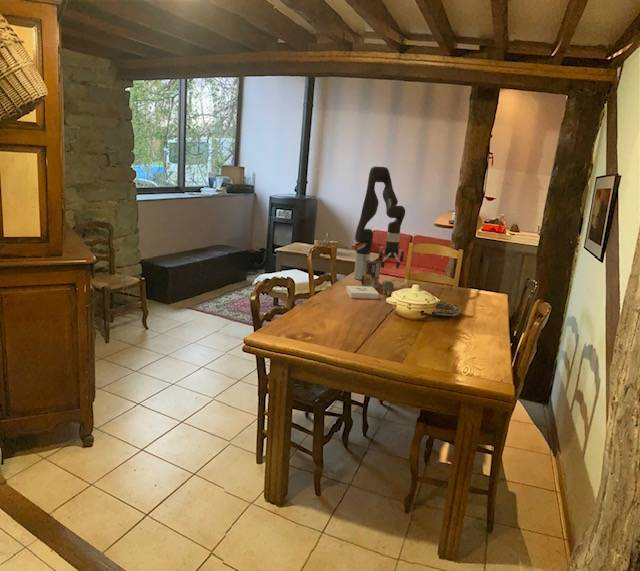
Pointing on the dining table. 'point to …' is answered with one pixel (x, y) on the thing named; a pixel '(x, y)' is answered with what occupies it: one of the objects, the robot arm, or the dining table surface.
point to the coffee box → (370, 274)
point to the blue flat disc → (446, 310)
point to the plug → (387, 286)
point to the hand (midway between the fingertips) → (389, 268)
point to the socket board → (362, 292)
